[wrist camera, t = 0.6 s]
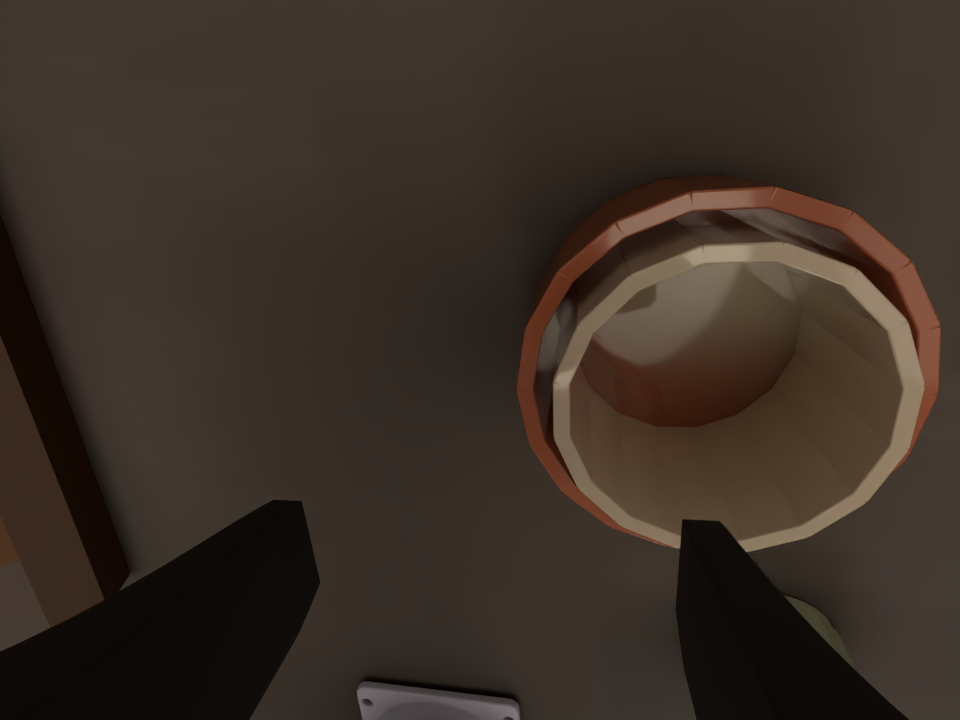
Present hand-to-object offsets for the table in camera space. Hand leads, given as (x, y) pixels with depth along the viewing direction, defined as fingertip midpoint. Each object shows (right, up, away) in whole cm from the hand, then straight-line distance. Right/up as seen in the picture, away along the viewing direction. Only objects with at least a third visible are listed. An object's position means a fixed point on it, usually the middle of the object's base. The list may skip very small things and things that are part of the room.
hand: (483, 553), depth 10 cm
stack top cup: (+7, +5, +8) cm, 11 cm away
